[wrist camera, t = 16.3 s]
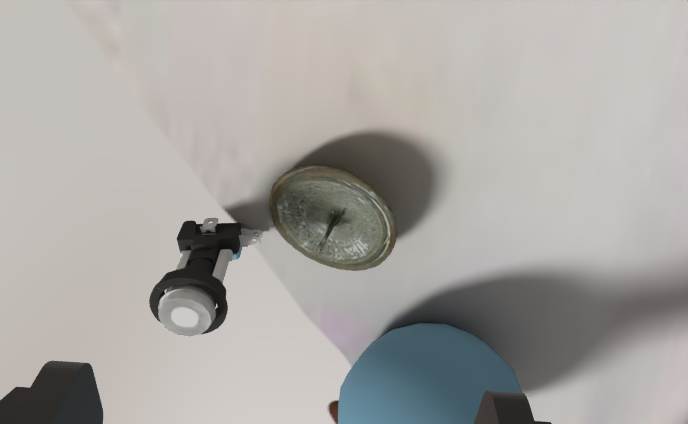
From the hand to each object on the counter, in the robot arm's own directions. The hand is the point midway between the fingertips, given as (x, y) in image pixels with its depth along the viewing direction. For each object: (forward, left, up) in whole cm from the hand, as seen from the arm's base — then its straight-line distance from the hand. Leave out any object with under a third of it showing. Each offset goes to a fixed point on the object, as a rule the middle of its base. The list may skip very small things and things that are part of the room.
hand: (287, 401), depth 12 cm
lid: (-1, +15, -30) cm, 34 cm away
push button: (+8, +18, -30) cm, 36 cm away
